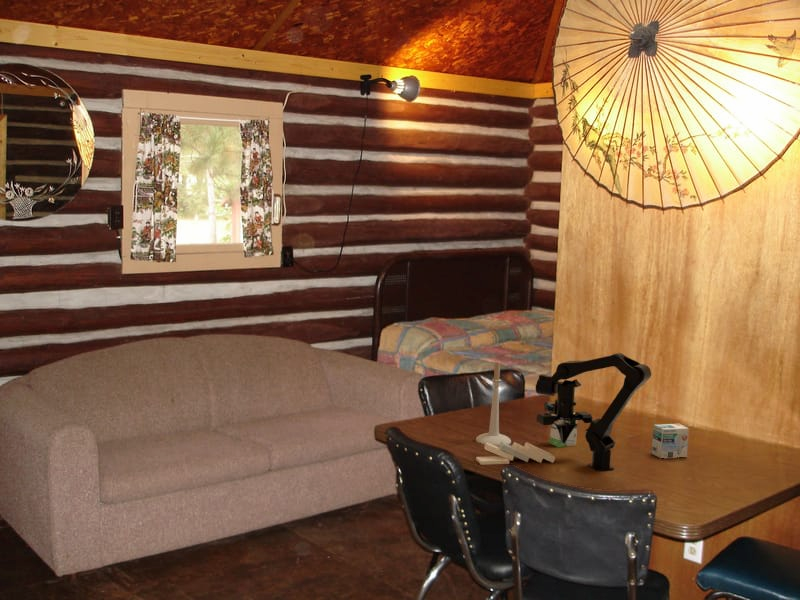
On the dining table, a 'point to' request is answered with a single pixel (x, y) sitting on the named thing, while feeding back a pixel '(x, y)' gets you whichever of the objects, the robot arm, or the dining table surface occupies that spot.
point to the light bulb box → (670, 440)
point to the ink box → (556, 438)
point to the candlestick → (494, 415)
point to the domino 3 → (512, 451)
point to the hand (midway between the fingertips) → (563, 442)
